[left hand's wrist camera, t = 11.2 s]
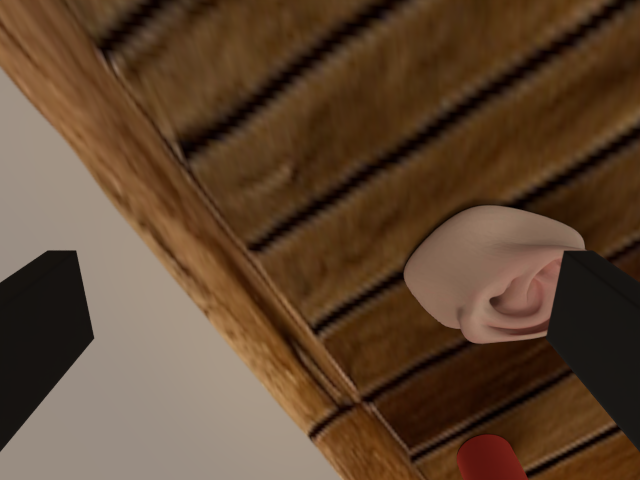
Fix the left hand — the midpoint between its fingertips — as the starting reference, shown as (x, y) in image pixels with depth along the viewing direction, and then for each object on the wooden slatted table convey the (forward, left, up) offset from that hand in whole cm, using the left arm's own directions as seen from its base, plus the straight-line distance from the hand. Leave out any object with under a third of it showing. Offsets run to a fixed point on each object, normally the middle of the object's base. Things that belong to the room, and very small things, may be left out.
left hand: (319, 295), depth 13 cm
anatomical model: (-5, +16, -22) cm, 28 cm away
